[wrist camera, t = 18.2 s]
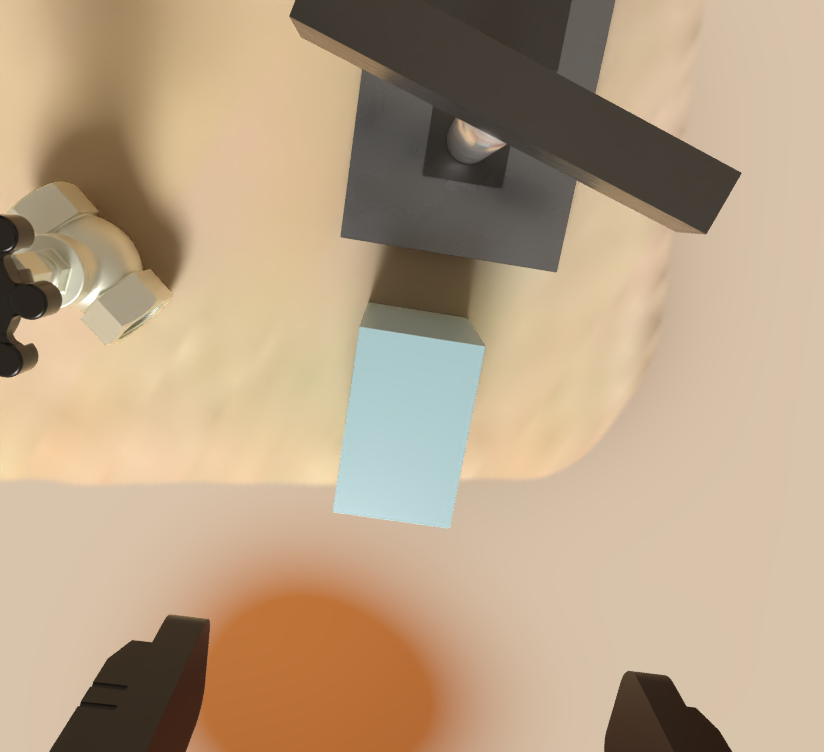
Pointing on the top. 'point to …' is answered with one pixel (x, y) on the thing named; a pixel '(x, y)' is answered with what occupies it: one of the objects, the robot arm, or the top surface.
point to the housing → (478, 182)
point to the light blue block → (408, 415)
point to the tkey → (521, 107)
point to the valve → (69, 272)
